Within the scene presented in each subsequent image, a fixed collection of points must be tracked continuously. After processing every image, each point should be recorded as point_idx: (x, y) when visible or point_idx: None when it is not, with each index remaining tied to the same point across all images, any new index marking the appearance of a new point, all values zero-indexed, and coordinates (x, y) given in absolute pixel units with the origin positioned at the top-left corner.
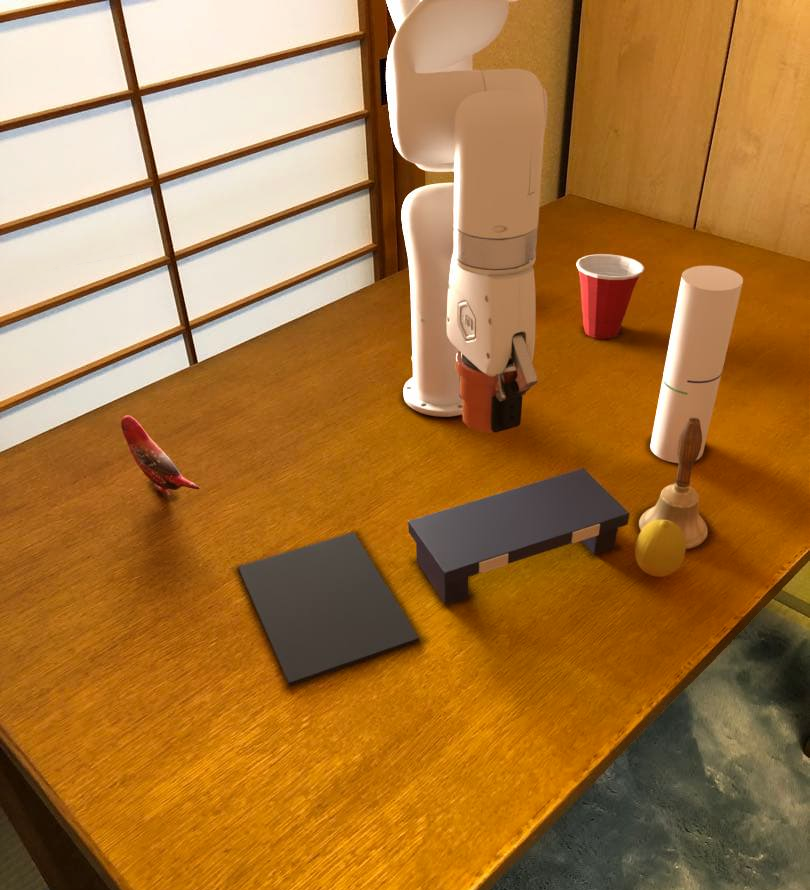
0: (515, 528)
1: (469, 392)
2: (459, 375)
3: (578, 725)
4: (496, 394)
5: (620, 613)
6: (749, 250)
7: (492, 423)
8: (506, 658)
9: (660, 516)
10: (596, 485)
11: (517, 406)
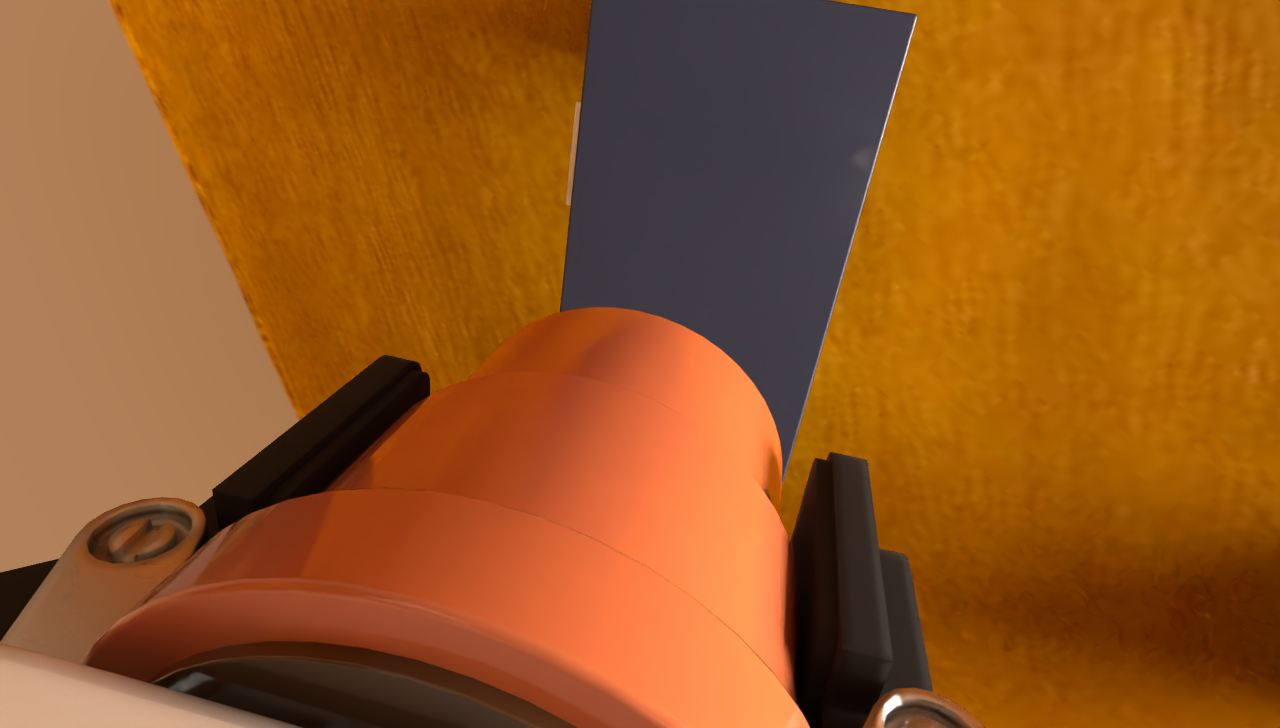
0: (647, 297)
1: (456, 430)
2: (875, 580)
3: (194, 34)
4: (193, 534)
5: (423, 336)
6: None
7: (369, 380)
8: (415, 19)
9: None
10: None
11: None
